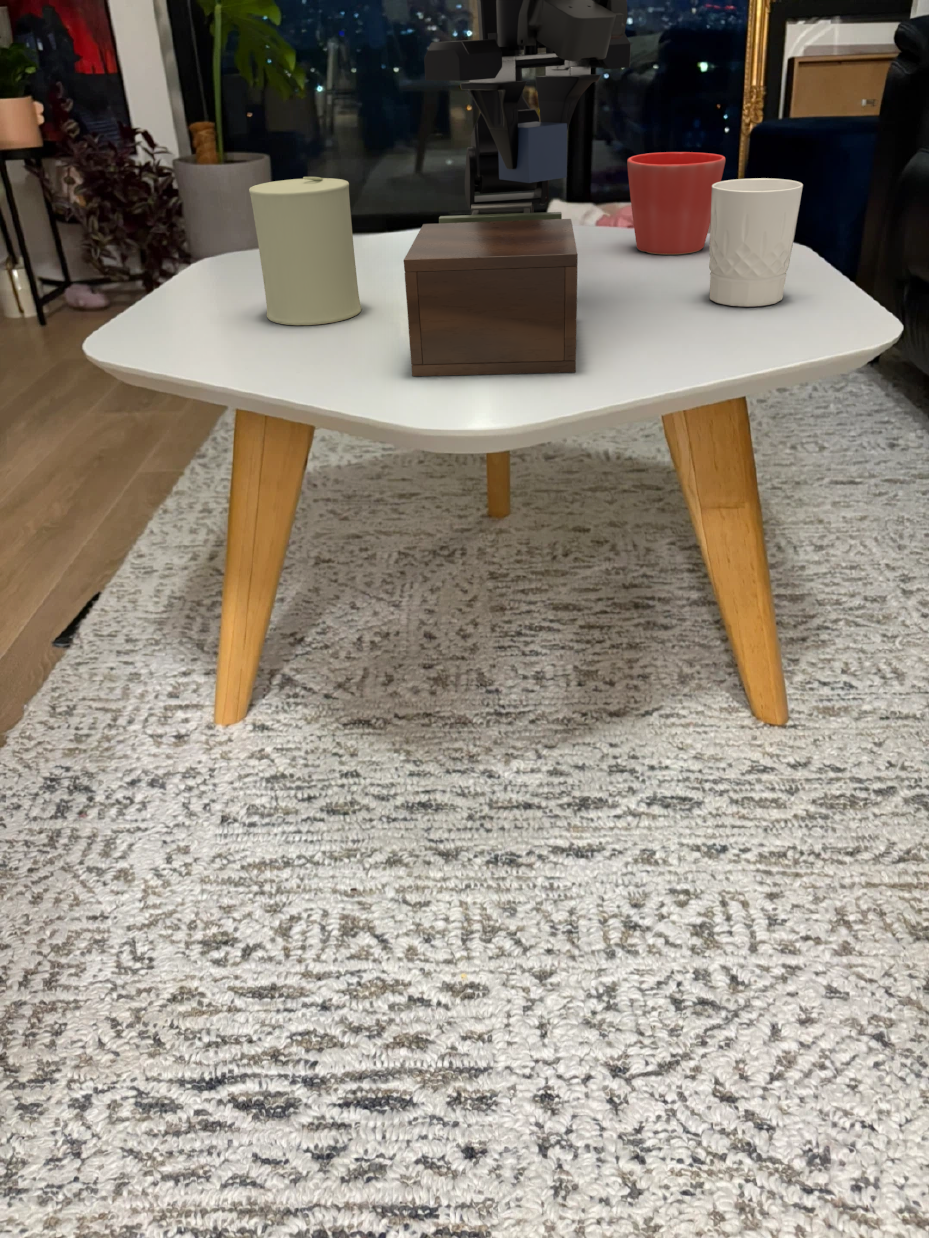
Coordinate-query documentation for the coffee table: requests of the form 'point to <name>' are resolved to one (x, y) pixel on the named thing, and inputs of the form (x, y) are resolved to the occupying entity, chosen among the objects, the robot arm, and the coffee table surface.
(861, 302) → the coffee table surface
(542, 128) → the block
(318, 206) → the can
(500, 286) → the cabinet
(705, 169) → the flower pot
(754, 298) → the white cup
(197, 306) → the coffee table surface
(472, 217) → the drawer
